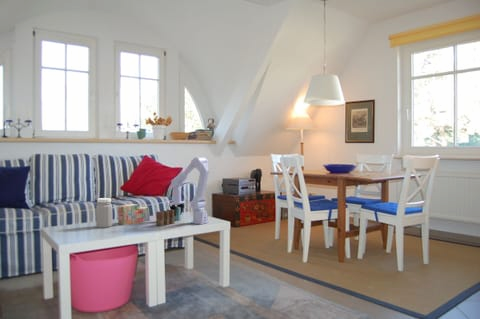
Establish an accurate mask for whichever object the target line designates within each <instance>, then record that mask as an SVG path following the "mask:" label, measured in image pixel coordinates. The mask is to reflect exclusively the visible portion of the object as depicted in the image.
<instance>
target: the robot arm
mask: <svg viewBox="0 0 480 319" xmlns="http://www.w3.org/2000/svg"><path fill="white" fill-rule="evenodd" d="M194 169H196V170H197V171H198V172H199V176H198V182H197V186H196V187H197V188H196V192H195V195H194V196H193V198H192V200H191V202H190V208H191V209H192V221H190V222H189V223H190V224H197V225H205V224H209V221H208V216H209V215H208V211H207V210H205V208H206V206H207V198H206V197H205V194H206V187H207V183H208V177H209V172H210V171H209V169H210V168H209V161H208V159H207V157H205V156H204V157H203V156H202V157H193V158H192V160H191V161H190V163H189V165H188V166H187V167H186V168H185V170H183V171H180V172H179V174H178V175H177V176H176V177H175V178H173V179H171V182H170V185H171V187H172V202H169V203H168V207H169V210H174V216H176V209H177V207H181V215H182V212H183V210H184V207H185V206H186V205H185V203H186V200H182V188H183V184H184V183H185V181H186V180H187V179H188V178H189V174H190V173H191V172H192V171H193V170H194Z"/></svg>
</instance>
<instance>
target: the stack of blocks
mask: <svg viewBox="0 0 480 319" xmlns="http://www.w3.org/2000/svg"><path fill="white" fill-rule="evenodd" d="M150 216H151V215H150V207H147V206H140V204H136V203H131V204H124V205H118V206H117V219H118V220H117V222H118V225H120V226H127V225H133V224H138V223H145V222H148V221H150V220H151V218H150Z"/></svg>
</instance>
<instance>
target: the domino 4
mask: <svg viewBox="0 0 480 319" xmlns="http://www.w3.org/2000/svg"><path fill="white" fill-rule="evenodd" d="M181 215H182V214H181V207H177V209H176V216H174V221H181V219H182V218H181V217H182V216H181Z"/></svg>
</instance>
